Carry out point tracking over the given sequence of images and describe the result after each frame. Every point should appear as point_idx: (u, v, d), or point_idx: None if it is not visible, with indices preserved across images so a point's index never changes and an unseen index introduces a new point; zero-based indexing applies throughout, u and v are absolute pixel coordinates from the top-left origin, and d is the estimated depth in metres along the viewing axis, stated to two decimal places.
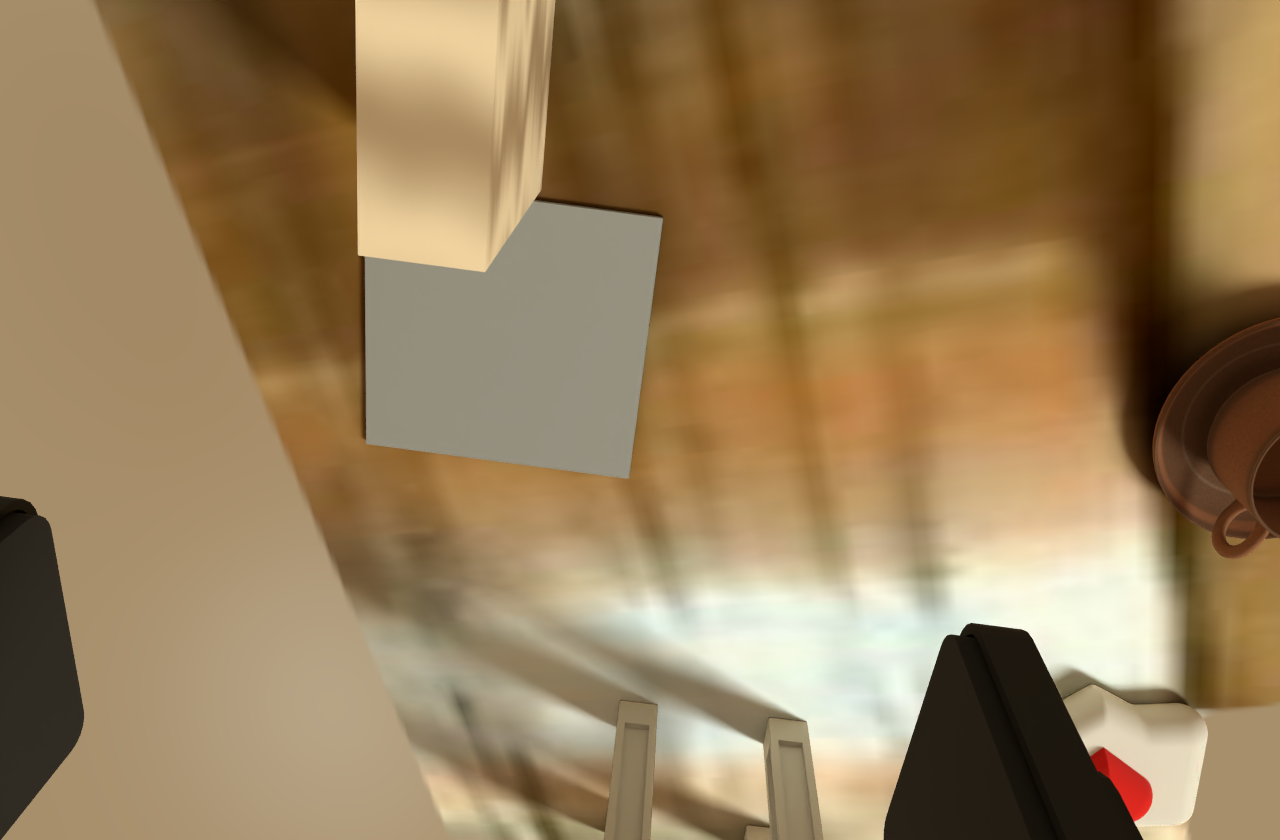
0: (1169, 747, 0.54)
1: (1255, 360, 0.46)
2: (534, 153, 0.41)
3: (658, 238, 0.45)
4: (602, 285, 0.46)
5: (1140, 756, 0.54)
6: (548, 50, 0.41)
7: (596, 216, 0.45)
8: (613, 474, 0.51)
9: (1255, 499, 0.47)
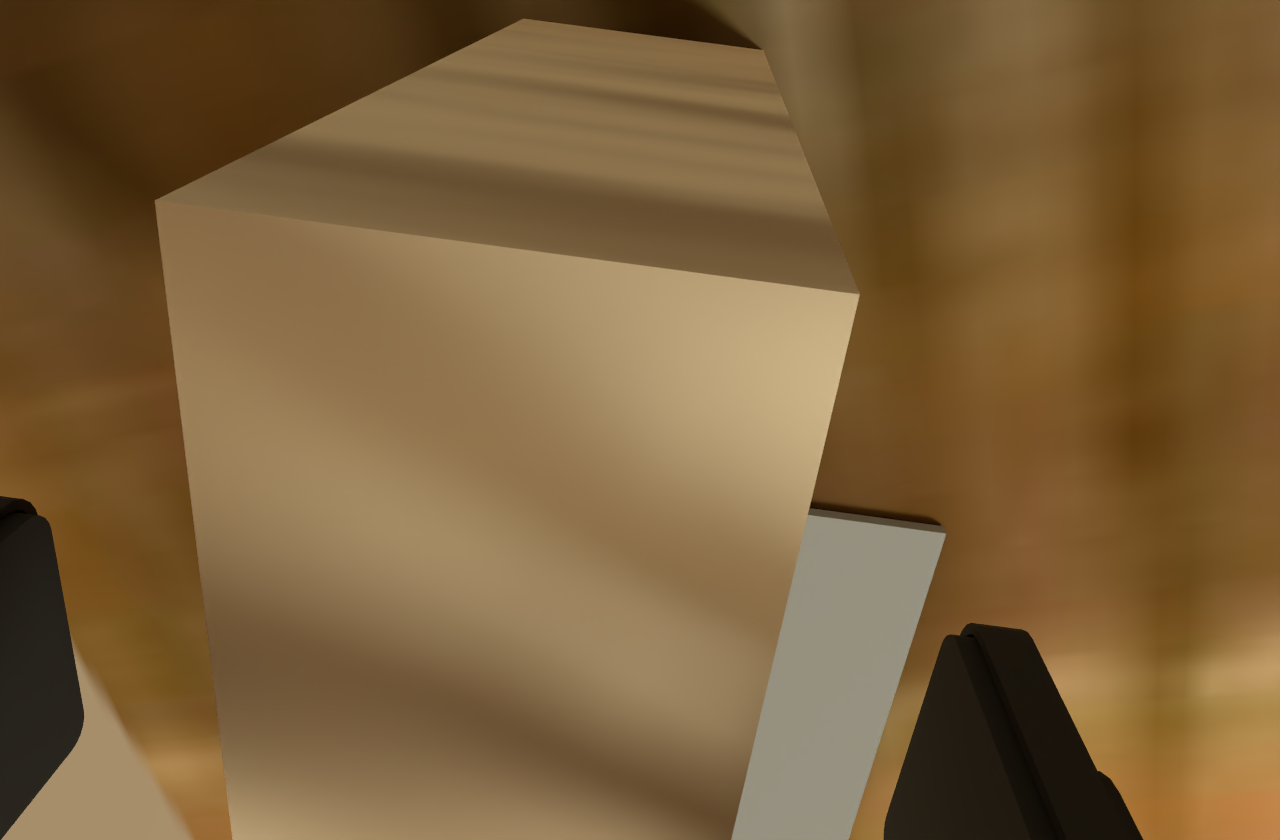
0: None
1: None
2: None
3: (931, 568, 0.22)
4: (805, 642, 0.23)
5: None
6: None
7: (807, 527, 0.22)
8: None
9: None
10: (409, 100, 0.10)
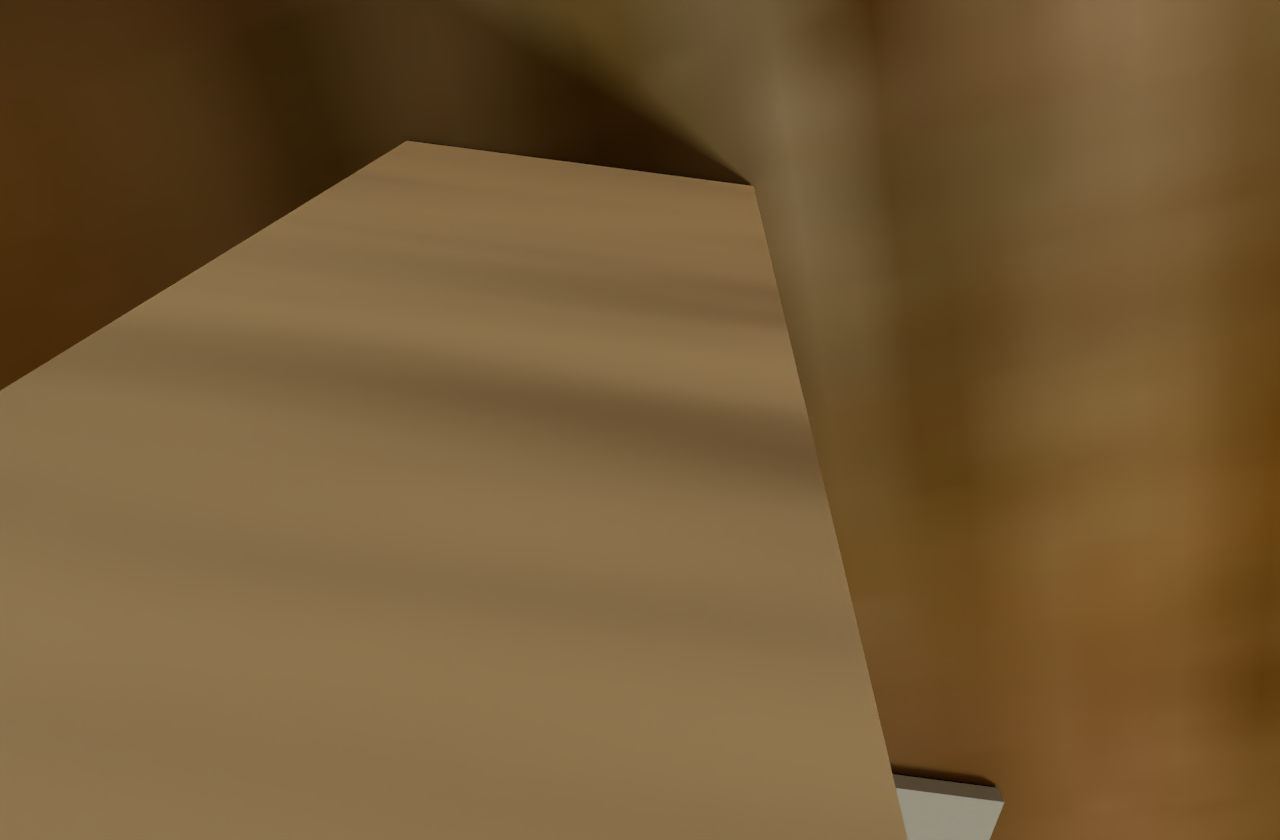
0: None
1: None
2: None
3: None
4: None
5: None
6: None
7: None
8: None
9: None
10: None
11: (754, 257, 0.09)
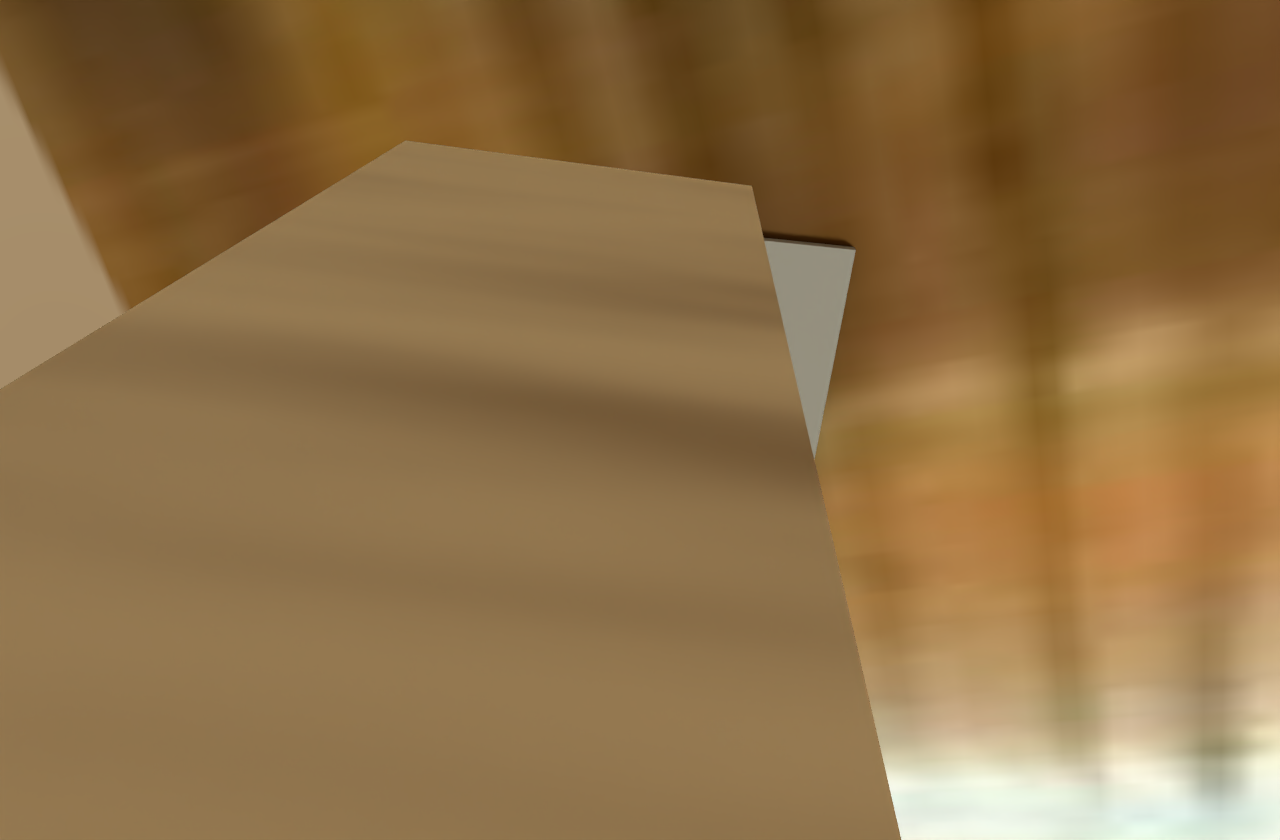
0: None
1: None
2: None
3: (846, 281, 0.28)
4: None
5: None
6: None
7: None
8: None
9: None
10: None
11: (752, 257, 0.09)
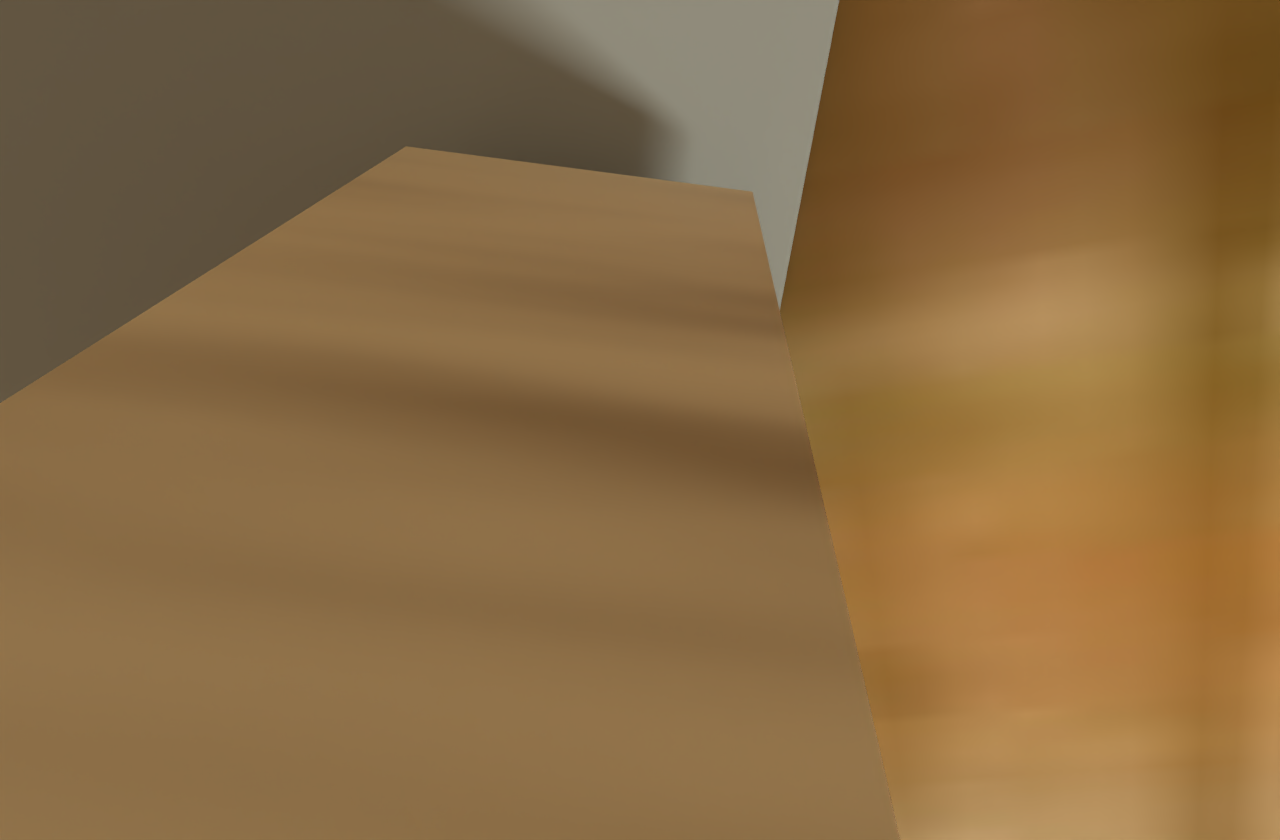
0: None
1: None
2: None
3: (822, 53, 0.12)
4: None
5: None
6: None
7: None
8: None
9: None
10: None
11: (753, 264, 0.09)
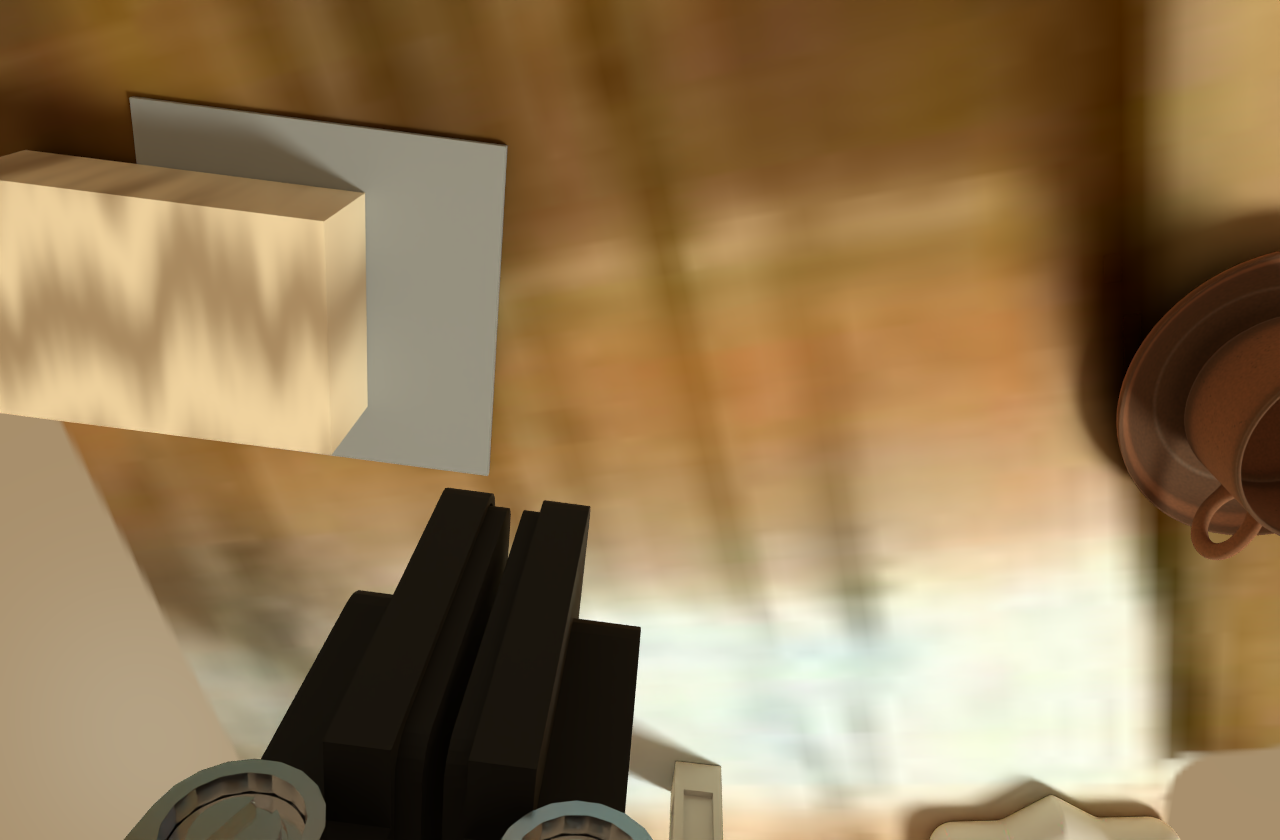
0: None
1: (1245, 309, 0.36)
2: (248, 392, 0.35)
3: (502, 172, 0.36)
4: (437, 233, 0.37)
5: None
6: (299, 296, 0.34)
7: (422, 144, 0.35)
8: (468, 470, 0.41)
9: (1245, 485, 0.37)
10: (127, 165, 0.36)
11: (229, 207, 0.32)
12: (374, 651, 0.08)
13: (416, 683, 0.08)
